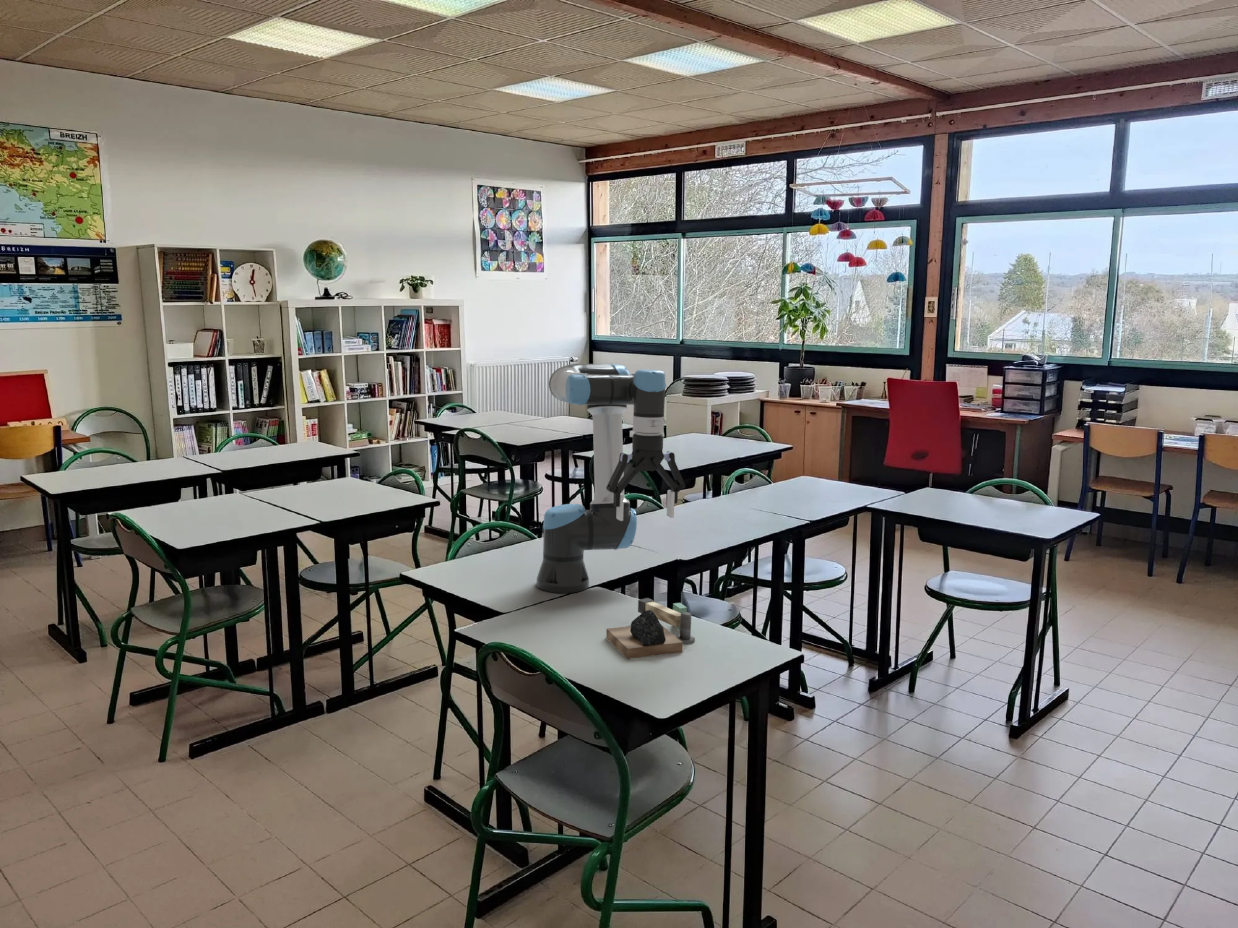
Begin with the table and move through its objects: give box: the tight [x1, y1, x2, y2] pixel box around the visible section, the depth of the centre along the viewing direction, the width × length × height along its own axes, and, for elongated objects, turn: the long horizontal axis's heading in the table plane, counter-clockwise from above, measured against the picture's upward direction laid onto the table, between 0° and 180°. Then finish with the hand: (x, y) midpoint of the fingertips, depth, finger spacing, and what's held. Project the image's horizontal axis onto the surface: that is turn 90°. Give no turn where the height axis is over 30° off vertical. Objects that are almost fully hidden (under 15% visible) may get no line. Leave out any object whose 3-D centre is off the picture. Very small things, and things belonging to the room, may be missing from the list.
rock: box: [630, 610, 666, 646], centre depth 222 cm, size 7×10×6 cm
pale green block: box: [672, 602, 688, 631], centre depth 238 cm, size 4×2×6 cm, turn 21°
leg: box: [637, 597, 681, 628], centre depth 236 cm, size 15×3×3 cm, turn 37°
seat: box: [605, 611, 696, 660], centre depth 226 cm, size 14×20×7 cm
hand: (645, 518), depth 232 cm, fingers open, 13 cm apart
